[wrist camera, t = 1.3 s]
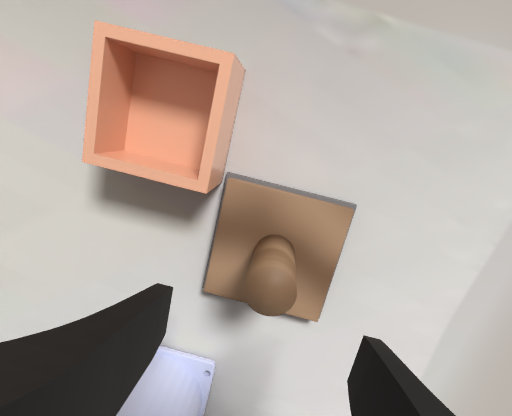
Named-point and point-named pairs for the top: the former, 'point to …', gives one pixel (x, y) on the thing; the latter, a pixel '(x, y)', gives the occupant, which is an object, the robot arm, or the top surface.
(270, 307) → the lid
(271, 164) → the top surface
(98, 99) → the open box
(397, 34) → the top surface
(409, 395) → the robot arm
